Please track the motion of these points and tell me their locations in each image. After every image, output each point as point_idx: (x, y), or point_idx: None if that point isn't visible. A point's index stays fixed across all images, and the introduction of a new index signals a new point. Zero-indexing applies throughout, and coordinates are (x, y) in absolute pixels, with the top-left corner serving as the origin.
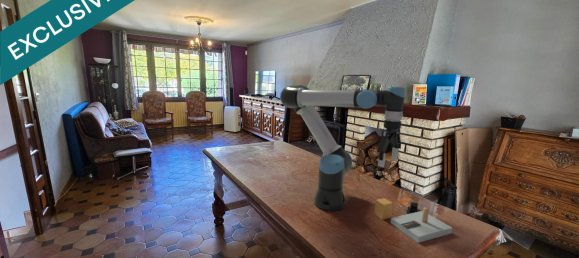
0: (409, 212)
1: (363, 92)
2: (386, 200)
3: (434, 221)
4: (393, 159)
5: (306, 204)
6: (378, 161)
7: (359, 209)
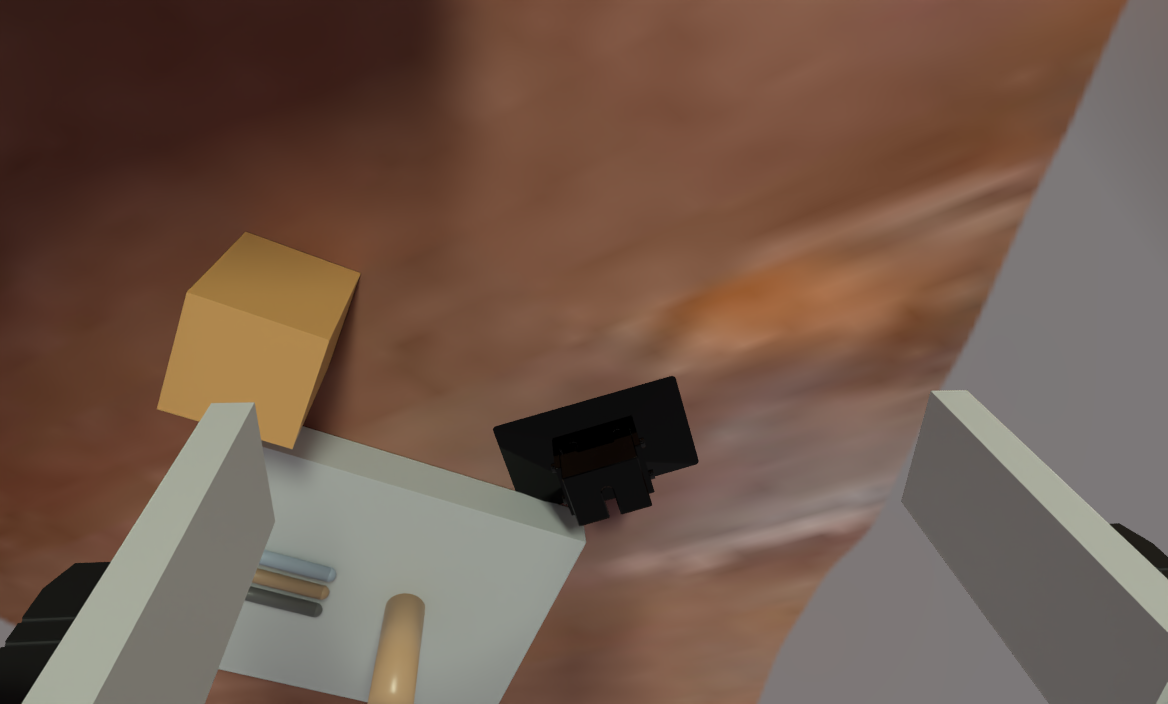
0: (549, 436)
1: None
2: (287, 382)
3: (475, 644)
4: (935, 460)
5: None
6: (166, 480)
7: (178, 61)
